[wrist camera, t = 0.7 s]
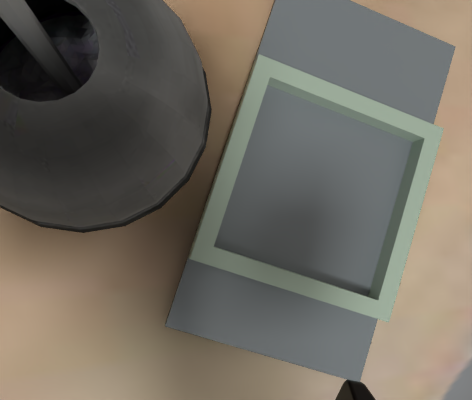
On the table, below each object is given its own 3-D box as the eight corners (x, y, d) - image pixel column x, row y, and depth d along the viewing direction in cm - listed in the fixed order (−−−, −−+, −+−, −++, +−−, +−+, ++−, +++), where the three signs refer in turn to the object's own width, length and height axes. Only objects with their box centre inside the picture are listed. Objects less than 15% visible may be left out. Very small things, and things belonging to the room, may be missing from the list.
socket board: (354, 379, 24) (369, 391, 22) (165, 323, 23) (165, 332, 21) (449, 50, 26) (469, 38, 25) (282, -23, 25) (291, -41, 23)
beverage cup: (112, 251, 22) (-325, 496, 3) (32, 145, 22) (-1197, -507, 2) (216, 176, 24) (454, -44, 4) (142, 74, 23) (-23, -771, 3)
